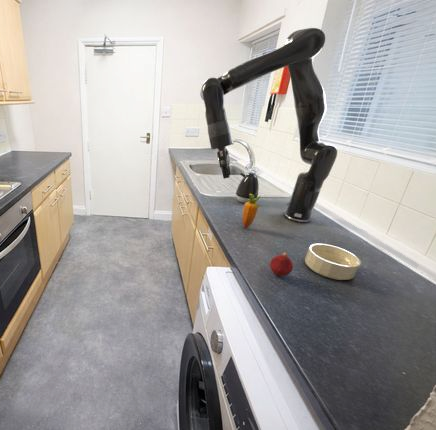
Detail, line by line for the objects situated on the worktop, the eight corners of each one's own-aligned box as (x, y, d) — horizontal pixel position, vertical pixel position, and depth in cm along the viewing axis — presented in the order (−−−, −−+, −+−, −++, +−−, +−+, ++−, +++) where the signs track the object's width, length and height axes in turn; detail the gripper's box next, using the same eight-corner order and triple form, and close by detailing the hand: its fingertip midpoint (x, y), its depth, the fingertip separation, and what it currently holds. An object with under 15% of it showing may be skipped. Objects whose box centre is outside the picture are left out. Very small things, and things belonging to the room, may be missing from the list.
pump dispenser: (236, 196, 142) (242, 169, 136) (257, 201, 137) (265, 172, 130) (231, 202, 135) (238, 173, 128) (253, 207, 129) (261, 177, 123)
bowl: (297, 255, 91) (302, 241, 89) (339, 260, 89) (346, 246, 87) (314, 277, 80) (320, 262, 78) (362, 285, 78) (370, 269, 75)
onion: (291, 283, 78) (300, 260, 74) (270, 280, 79) (278, 257, 75) (284, 271, 83) (292, 249, 79) (264, 268, 84) (271, 247, 80)
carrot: (253, 228, 109) (263, 194, 102) (249, 232, 106) (259, 197, 99) (241, 224, 112) (250, 191, 106) (237, 228, 109) (245, 194, 102)
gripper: (228, 131, 92) (237, 176, 95) (230, 132, 104) (238, 172, 107) (206, 137, 96) (215, 181, 98) (211, 137, 108) (218, 176, 110)
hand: (227, 176), depth 103 cm, fingers open, 8 cm apart
